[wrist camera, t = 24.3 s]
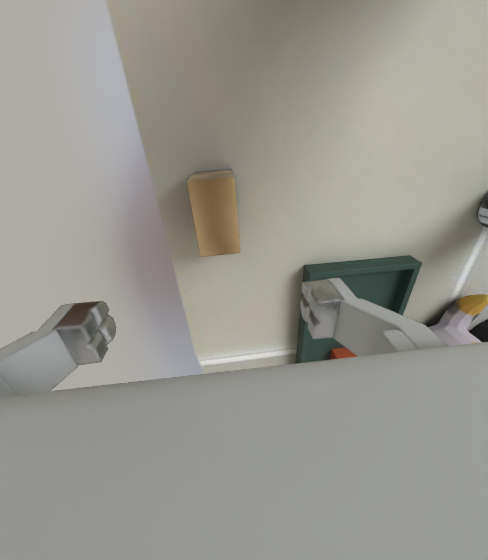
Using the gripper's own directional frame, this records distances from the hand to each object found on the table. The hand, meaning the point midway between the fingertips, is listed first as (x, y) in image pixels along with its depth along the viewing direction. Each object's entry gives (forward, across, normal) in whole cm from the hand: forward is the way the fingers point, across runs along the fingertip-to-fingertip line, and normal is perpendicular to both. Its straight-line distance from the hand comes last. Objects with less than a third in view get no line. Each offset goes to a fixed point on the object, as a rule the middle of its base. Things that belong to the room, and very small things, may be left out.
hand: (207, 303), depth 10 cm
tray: (+19, -18, +20) cm, 33 cm away
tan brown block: (+19, 0, 0) cm, 19 cm away
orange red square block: (+18, -18, +27) cm, 37 cm away
